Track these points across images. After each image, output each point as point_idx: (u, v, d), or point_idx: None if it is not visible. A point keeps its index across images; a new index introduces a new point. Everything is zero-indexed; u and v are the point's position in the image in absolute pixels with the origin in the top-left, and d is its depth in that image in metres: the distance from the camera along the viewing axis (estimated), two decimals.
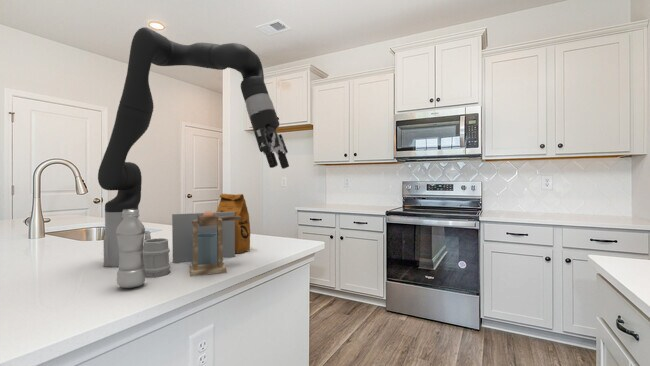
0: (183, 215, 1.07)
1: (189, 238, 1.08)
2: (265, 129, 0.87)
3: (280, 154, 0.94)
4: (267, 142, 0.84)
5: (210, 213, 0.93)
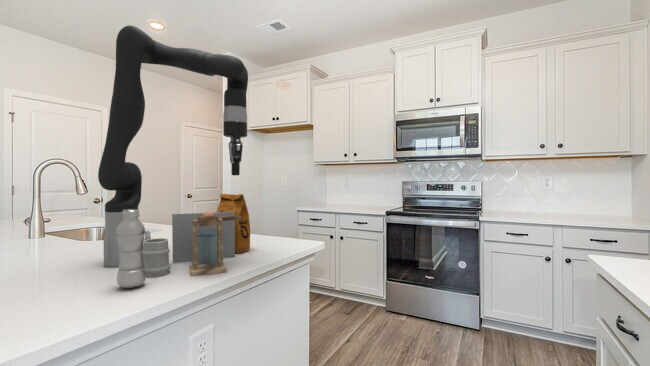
0: (183, 215, 1.07)
1: (189, 238, 1.08)
2: (240, 140, 1.01)
3: None
4: None
5: (210, 213, 0.93)
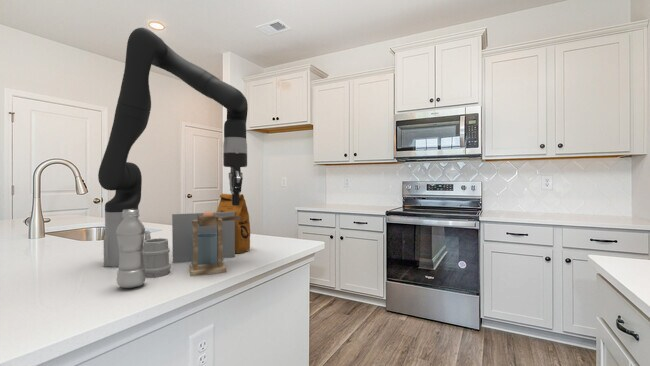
0: (183, 215, 1.07)
1: (189, 238, 1.08)
2: (240, 171, 1.01)
3: None
4: (240, 187, 1.02)
5: (210, 213, 0.93)
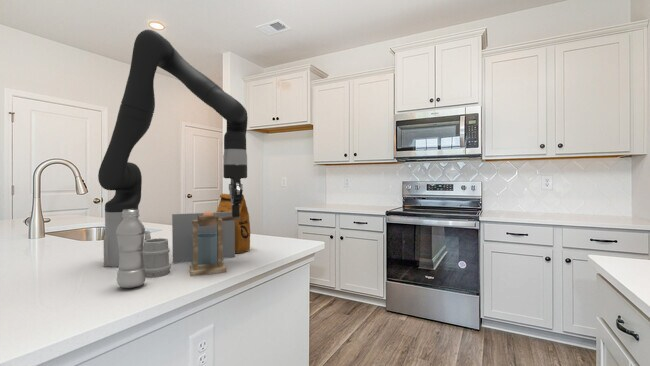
0: (183, 215, 1.07)
1: (189, 238, 1.08)
2: (240, 183, 1.01)
3: None
4: (241, 198, 1.02)
5: (210, 213, 0.93)
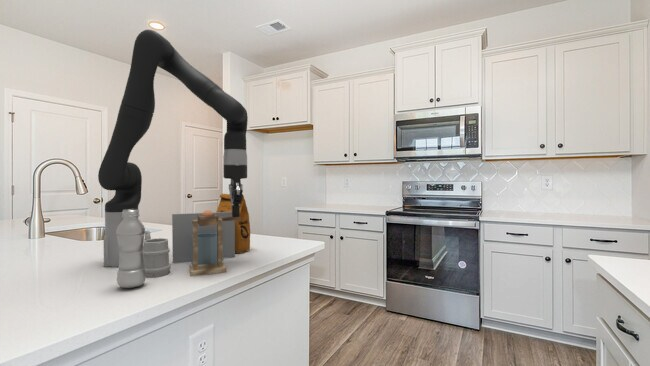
0: (183, 215, 1.07)
1: (189, 238, 1.08)
2: (240, 183, 1.01)
3: None
4: (241, 198, 1.02)
5: None
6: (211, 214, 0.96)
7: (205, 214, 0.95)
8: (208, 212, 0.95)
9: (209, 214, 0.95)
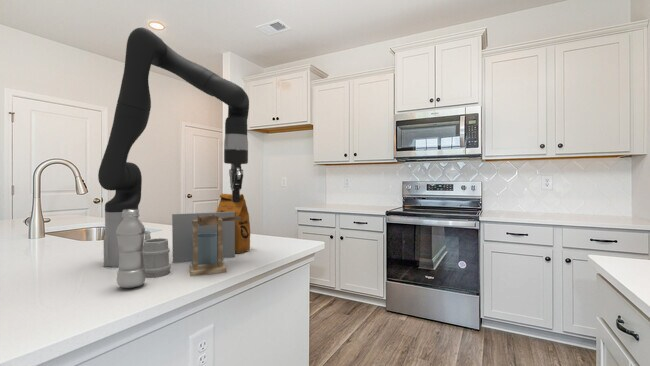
0: (183, 215, 1.07)
1: (189, 238, 1.08)
2: (240, 168, 1.01)
3: None
4: None
5: None
6: None
7: None
8: None
9: None
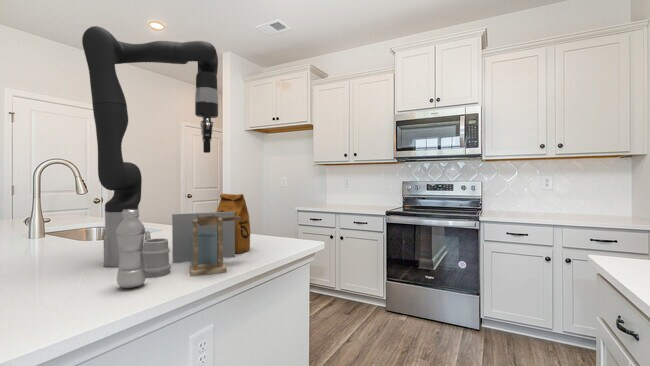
0: (183, 215, 1.07)
1: (189, 238, 1.08)
2: (210, 119, 1.08)
3: None
4: (211, 134, 1.10)
5: None
6: None
7: None
8: None
9: None
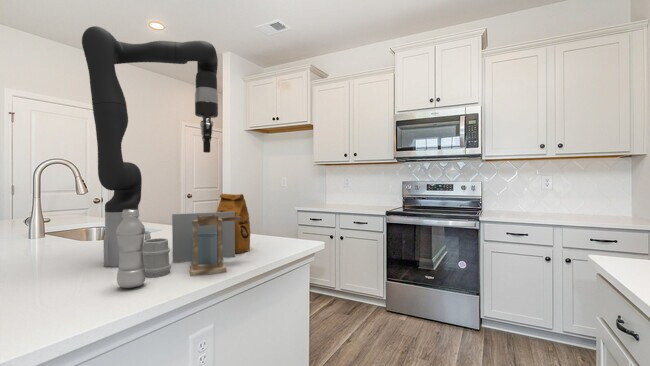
0: (183, 215, 1.07)
1: (189, 238, 1.08)
2: (210, 119, 1.09)
3: None
4: (211, 134, 1.10)
5: None
6: None
7: None
8: None
9: None
